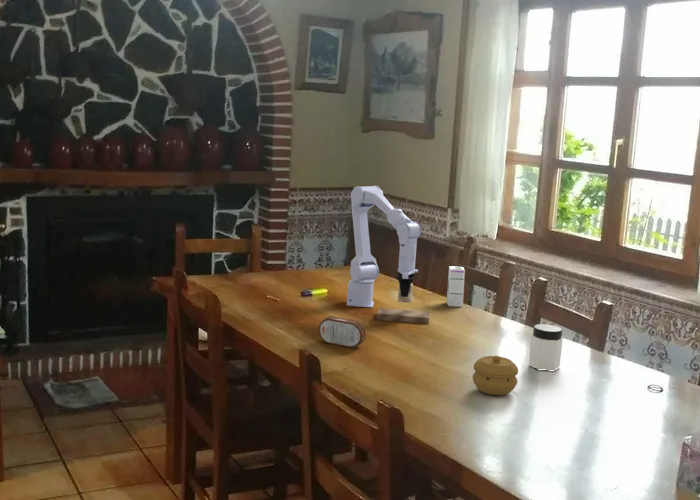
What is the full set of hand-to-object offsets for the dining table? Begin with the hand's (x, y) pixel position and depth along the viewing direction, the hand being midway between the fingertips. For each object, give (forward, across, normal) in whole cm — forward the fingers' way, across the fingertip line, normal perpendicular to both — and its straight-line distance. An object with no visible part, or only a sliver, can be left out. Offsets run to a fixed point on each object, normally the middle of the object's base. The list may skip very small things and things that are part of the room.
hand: (404, 295), depth 283 cm
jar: (+9, -42, -44) cm, 61 cm away
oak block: (+2, 0, 0) cm, 2 cm away
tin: (+9, -38, +17) cm, 43 cm away
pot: (+9, -68, -28) cm, 74 cm away
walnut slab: (+8, 0, 0) cm, 8 cm away
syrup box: (+9, +27, -18) cm, 34 cm away
